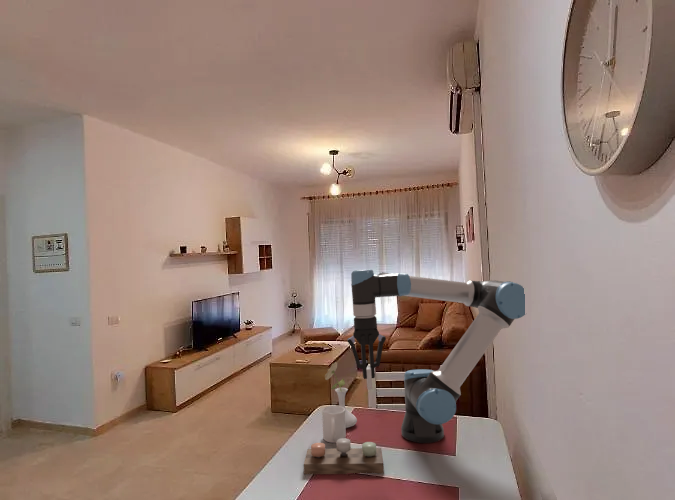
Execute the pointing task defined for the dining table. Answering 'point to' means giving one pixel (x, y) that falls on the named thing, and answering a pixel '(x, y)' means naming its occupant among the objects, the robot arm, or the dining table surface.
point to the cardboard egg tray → (343, 462)
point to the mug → (333, 423)
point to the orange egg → (318, 450)
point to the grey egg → (343, 446)
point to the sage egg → (369, 449)
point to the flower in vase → (341, 396)
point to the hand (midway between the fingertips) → (369, 388)
